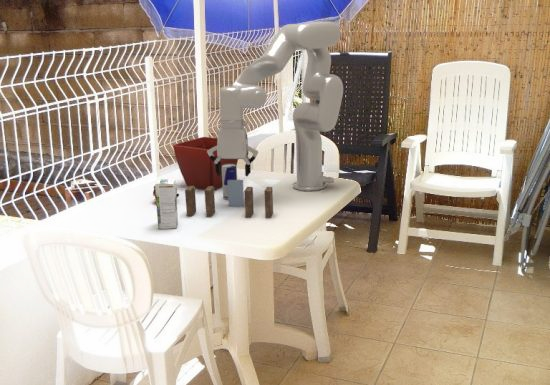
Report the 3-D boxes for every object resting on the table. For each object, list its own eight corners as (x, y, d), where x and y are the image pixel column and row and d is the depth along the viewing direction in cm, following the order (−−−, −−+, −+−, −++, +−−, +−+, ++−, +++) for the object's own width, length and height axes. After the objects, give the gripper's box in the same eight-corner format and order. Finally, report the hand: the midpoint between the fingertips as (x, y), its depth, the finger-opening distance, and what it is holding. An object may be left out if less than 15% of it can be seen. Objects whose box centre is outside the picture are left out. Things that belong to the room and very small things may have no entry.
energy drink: (235, 200, 209) (234, 167, 205) (221, 199, 210) (219, 167, 206) (239, 196, 214) (238, 163, 210) (225, 195, 215) (223, 163, 211)
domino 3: (229, 204, 204) (228, 179, 201) (244, 205, 203) (242, 179, 200) (228, 206, 202) (227, 181, 199) (243, 206, 201) (241, 181, 199)
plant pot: (244, 182, 232) (242, 140, 227) (214, 194, 217) (211, 149, 212) (206, 176, 242) (203, 136, 237) (174, 188, 227) (171, 145, 222)
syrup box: (160, 223, 187) (156, 179, 182) (178, 222, 187) (175, 178, 183) (158, 229, 181) (154, 184, 177) (177, 228, 181) (173, 183, 177)
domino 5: (273, 213, 193) (272, 186, 191) (270, 218, 189) (270, 191, 186) (267, 213, 194) (266, 186, 191) (265, 218, 189) (264, 191, 186)
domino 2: (215, 212, 196) (213, 186, 194) (211, 217, 191) (210, 190, 189) (210, 212, 196) (208, 186, 194) (206, 216, 192) (204, 190, 189)
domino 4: (253, 212, 194) (252, 186, 192) (250, 217, 189) (249, 190, 187) (248, 212, 194) (247, 186, 192) (245, 217, 190) (244, 190, 187)
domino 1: (196, 211, 197) (194, 186, 195) (192, 216, 192) (190, 190, 190) (191, 211, 197) (189, 185, 195) (186, 216, 193) (184, 190, 190)
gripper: (259, 123, 197) (260, 173, 201) (209, 122, 199) (211, 172, 204) (255, 126, 190) (256, 178, 194) (203, 126, 192) (205, 177, 197)
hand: (233, 175), depth 199 cm, fingers open, 9 cm apart
